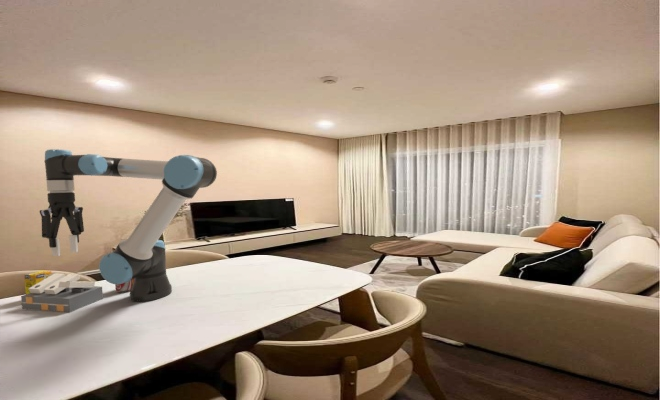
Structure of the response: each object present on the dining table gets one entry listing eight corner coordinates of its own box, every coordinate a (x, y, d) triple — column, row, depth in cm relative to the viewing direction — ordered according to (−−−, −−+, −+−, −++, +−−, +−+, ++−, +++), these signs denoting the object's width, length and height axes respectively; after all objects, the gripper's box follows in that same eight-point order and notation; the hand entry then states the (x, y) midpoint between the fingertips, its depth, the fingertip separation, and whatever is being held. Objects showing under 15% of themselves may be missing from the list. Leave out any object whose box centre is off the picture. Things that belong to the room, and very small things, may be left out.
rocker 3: (93, 287, 120) (95, 281, 121) (68, 287, 111) (70, 281, 111) (84, 286, 121) (85, 281, 122) (58, 287, 112) (59, 281, 112)
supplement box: (37, 302, 120) (35, 275, 120) (25, 301, 121) (23, 274, 121) (53, 296, 126) (51, 271, 125) (42, 295, 127) (40, 270, 127)
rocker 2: (80, 278, 122) (78, 273, 121) (55, 294, 113) (53, 289, 112) (70, 277, 123) (68, 273, 122) (45, 293, 114) (43, 289, 113)
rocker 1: (66, 277, 123) (64, 273, 122) (40, 293, 114) (38, 288, 113) (56, 277, 124) (54, 272, 123) (30, 292, 115) (28, 288, 114)
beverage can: (111, 292, 130) (109, 264, 129) (129, 286, 137) (127, 260, 137) (124, 294, 127) (122, 266, 127) (141, 287, 135) (140, 261, 134)
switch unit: (102, 298, 122) (101, 283, 122) (69, 312, 109) (68, 295, 109) (58, 296, 126) (57, 281, 126) (21, 309, 113) (20, 292, 113)
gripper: (78, 191, 121) (82, 248, 122) (23, 193, 102) (28, 260, 104) (93, 191, 119) (97, 248, 121) (40, 192, 101) (45, 260, 102)
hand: (65, 253), depth 112 cm, fingers open, 6 cm apart
